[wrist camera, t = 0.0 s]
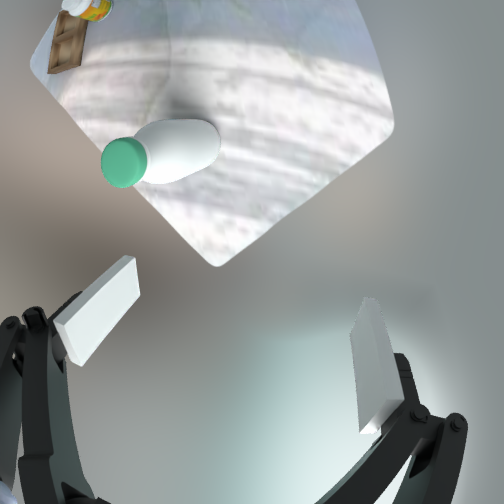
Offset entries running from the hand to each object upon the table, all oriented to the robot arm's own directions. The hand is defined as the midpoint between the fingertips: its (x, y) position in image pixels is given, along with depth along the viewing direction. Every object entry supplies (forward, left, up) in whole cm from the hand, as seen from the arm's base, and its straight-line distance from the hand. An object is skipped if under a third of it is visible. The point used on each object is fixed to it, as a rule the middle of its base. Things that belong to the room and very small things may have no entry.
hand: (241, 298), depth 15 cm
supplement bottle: (-33, -36, -28) cm, 56 cm away
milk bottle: (-5, -13, -28) cm, 32 cm away
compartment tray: (-29, -43, -28) cm, 59 cm away
